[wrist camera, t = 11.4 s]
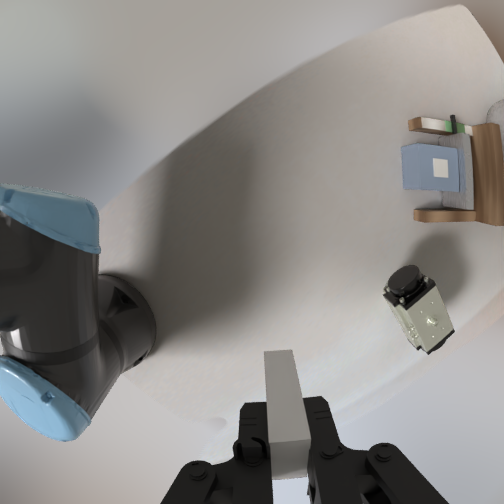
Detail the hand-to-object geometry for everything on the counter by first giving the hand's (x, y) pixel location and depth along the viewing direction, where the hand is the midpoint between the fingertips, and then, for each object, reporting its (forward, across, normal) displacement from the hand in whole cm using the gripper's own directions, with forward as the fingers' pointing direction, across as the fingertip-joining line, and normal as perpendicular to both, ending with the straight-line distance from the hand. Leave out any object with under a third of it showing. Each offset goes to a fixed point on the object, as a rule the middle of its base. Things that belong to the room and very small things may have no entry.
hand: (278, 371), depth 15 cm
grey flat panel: (+24, +28, +13) cm, 39 cm away
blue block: (+25, +24, +12) cm, 36 cm away
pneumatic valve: (+25, +19, -6) cm, 32 cm away
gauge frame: (+24, +28, +12) cm, 39 cm away
